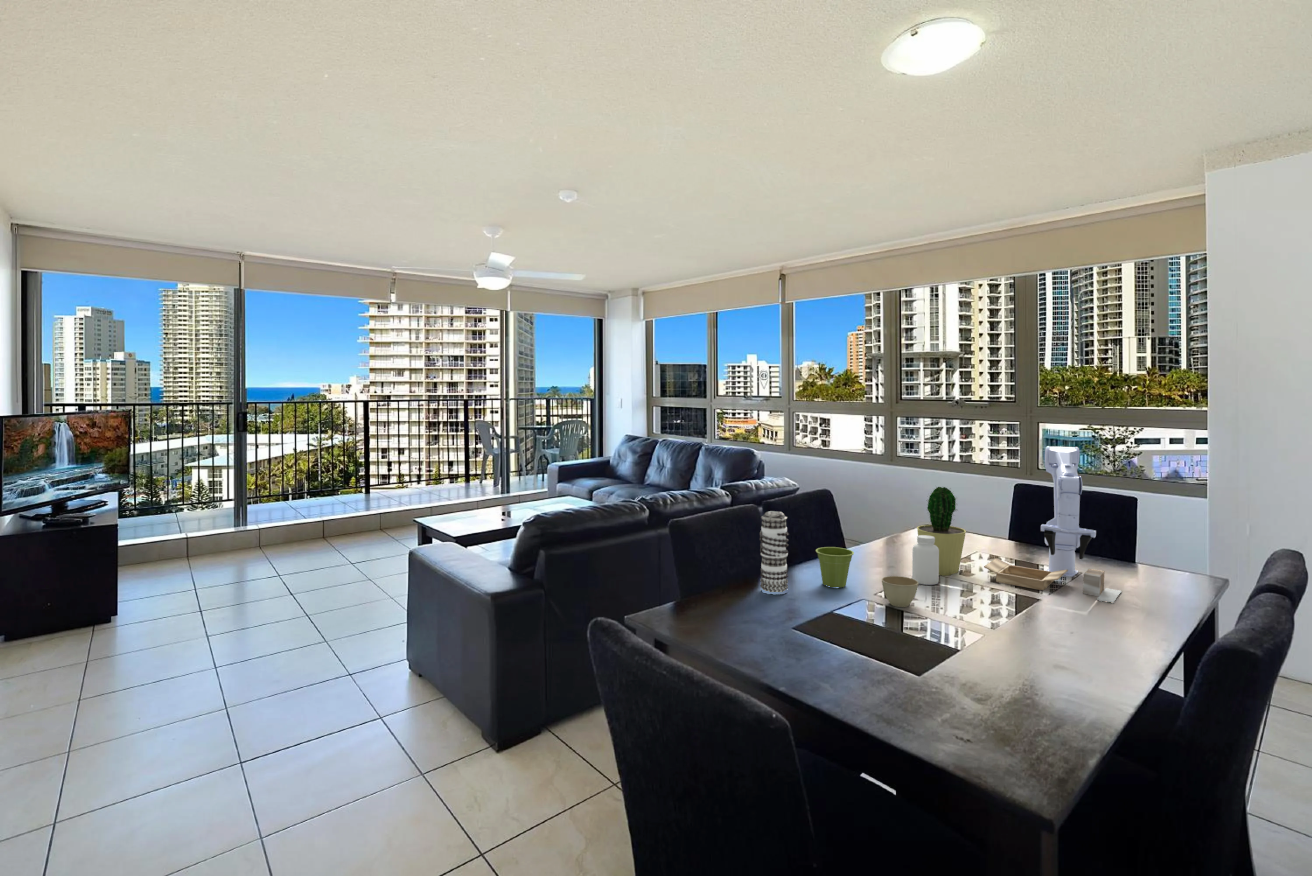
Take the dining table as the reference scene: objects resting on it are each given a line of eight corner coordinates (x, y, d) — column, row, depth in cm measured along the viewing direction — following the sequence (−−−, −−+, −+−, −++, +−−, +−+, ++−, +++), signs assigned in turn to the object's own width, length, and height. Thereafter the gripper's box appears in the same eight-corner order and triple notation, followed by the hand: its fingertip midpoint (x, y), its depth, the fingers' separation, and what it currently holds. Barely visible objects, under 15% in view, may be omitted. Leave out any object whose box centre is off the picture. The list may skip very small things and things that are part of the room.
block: (1088, 587, 194) (1088, 568, 193) (1103, 590, 191) (1104, 571, 190) (1082, 593, 188) (1083, 574, 188) (1098, 596, 185) (1099, 576, 185)
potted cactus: (918, 575, 210) (920, 487, 208) (913, 563, 225) (915, 481, 223) (968, 579, 206) (970, 489, 204) (960, 566, 220) (962, 482, 218)
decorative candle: (787, 586, 200) (787, 509, 198) (790, 596, 191) (790, 515, 189) (758, 586, 201) (758, 509, 199) (760, 595, 191) (760, 515, 190)
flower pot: (921, 611, 176) (921, 586, 175) (884, 609, 178) (884, 584, 177) (914, 599, 186) (914, 576, 185) (879, 598, 188) (879, 574, 187)
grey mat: (1075, 584, 199) (1075, 582, 199) (1121, 592, 190) (1121, 590, 190) (1064, 594, 189) (1064, 593, 189) (1113, 603, 180) (1113, 601, 180)
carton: (995, 572, 213) (996, 558, 212) (1067, 585, 198) (1068, 569, 198) (983, 581, 203) (983, 566, 203) (1057, 594, 189) (1058, 578, 188)
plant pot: (858, 591, 195) (858, 555, 194) (820, 591, 195) (820, 555, 194) (847, 579, 206) (847, 546, 206) (811, 580, 207) (811, 546, 206)
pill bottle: (933, 578, 207) (934, 534, 206) (942, 586, 199) (943, 539, 198) (908, 578, 208) (909, 533, 207) (916, 585, 200) (917, 539, 199)
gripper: (1038, 513, 198) (1037, 554, 199) (1093, 518, 188) (1091, 563, 189) (1044, 509, 203) (1042, 550, 204) (1097, 515, 193) (1096, 558, 194)
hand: (1066, 556), depth 197 cm, fingers open, 7 cm apart
